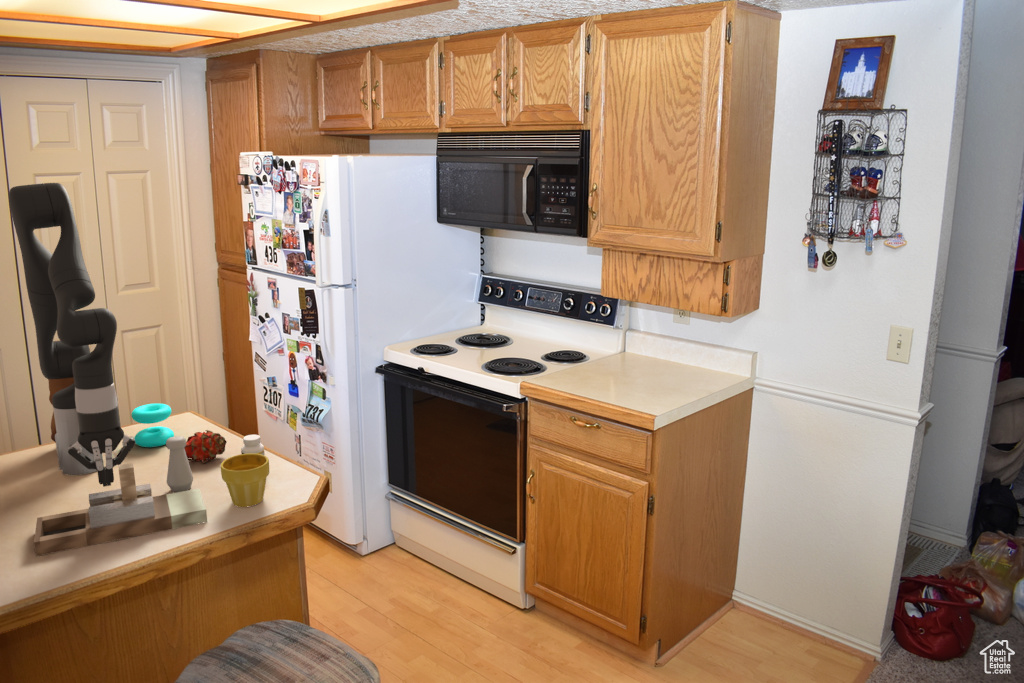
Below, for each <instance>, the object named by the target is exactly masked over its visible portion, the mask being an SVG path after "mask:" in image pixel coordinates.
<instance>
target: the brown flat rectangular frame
mask: <svg viewBox="0 0 1024 683" xmlns="http://www.w3.org/2000/svg"><path fill="white" fill-rule="evenodd" d="M153 502H154V510H155V517H154V518H149V519H144V520H138V521H133V522H128V523H123V524H118V525H112V526H107V527H102V528H97V529H91V525H90V518H89V507H88V508H84V509H79V510H78V509H77V510H73V511H68V512H67V511H66V512H61V513H56V514H51V515H45V516H40V517H37V518H36V522H35V524H36V526H35V531H34V532H35V533H34V539H33V545H34V546H33V547H34V552H35V556H36V557H38V556H39V557H40V556H43V555H49V554H54V553H58V552H64V551H69V550H74V549H80V548H84V547H88V546H93V545H94V546H95V545H100V544H103V543H108V542H115V541H119V540H125V539H130V538H135V537H138V536H144V535H149V534H155V533H159V532H160V533H161V532H165V531H170V530H174V529H179V528H184V527H190V526H194V524H195V525H198V523H200V524H204V523H203V522H205V523H208V515H207V513H208V512H207V508H206V504H205V501H204V498H203V496H202V493H201V489H200V488H194V489H189V490H188V491H182V492H177V493H173V492H172V493H167V494H161V495H157V496H156V495H155V496H153Z"/></svg>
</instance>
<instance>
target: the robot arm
mask: <svg viewBox="0 0 1024 683" xmlns="http://www.w3.org/2000/svg"><path fill="white" fill-rule="evenodd" d="M8 203H9V204H8V205H9V210H10V213H11V218H12V221H13V225H14V230H15V233H16V237H17V241H18V245H19V248H20V252H21V259H22V264H23V270H24V277H25V286H26V289H27V296H28V300H29V304H30V308H31V313H32V318H33V322H34V326H35V337H36V346H37V353H38V355H37V356H38V361H39V367H40V371H41V373H42V375H43V377H44V378H45V379H47V380H48V379H63V378H72V377H74V383H73V384H72V385H70V386H69V387H67V388H65V389H62V390H60V391H58V392H56V393H55V394H54V395H53V396H52V404H53V405H52V404H51V405H52V409H53V410H52V411H54V418H55V424H56V431H57V433H56V434H55V441H56V442H55V446H56V448H55V449H56V452H57V453H56V454H57V455H56V456H57V461H58V467H59V471H61V473H62V474H64V475H66V476H82V475H88V474H91V473H95V472H97V479H98V483H99V485H102V486H103V487H104V488H105V487H110V486H112V483H114V481H115V475H114V467H115V466H118V465H122V464H123V461H124V460H125V459H126V457H127V456H128V455H129V453H130V452H131V450H132V449H133V447H134V446H135V445H136V443H135V436H128V435H127V434H125V432H124V430H123V429H122V427H121V421H120V412H119V403H118V401H119V399H118V395H117V390H116V387H115V381H114V375H113V374H114V373H113V366H112V364H113V362H112V361H113V353H114V345H115V342H116V341H115V340H116V337H117V336H116V335H117V329H118V323H117V319H116V316H115V315H114V313H113V312H112V311H111V310H110V309H108V308H104V307H98V308H91V309H90V308H89V309H84V308H86V307H88V306H90V305H91V304H93V303H94V301H95V298H96V292H95V289H94V286H93V283H92V281H91V278H90V275H89V272H88V270H87V267H86V266H87V265H86V264H85V259H84V255H83V251H82V245H81V239H80V234H79V230H78V225H77V221H76V218H75V217H76V216H75V212H74V208H73V204H72V201H71V198H70V195H69V193H68V191H67V189H66V187H65V186H64V185H63V184H61V183H59V182H45V183H44V182H43V183H35V184H34V183H33V184H25V185H22V184H21V185H17V186H16V185H15V186H13V187H11V188H10V189H9V191H8ZM53 227H54V228H55V227H56V228H57V227H59V228H60V235H59V236H60V237H59V240H58V242H57V245H56V247H55V248H54V251H53V252H51V251H50V250H49V249H48V248H46V247H45V245H44V244H43V243H42V242H41V241H40V239H38V237H37V236H36V234H35V232H34V230H39V229H47V228H49V229H50V228H53ZM80 309H83V310H80ZM56 334H57V337H58V339H59V340H54V337H55V335H56ZM91 345H95V347H94V349H93V350H92V351H91V349H90V346H91ZM121 442H122V444H121V446H122V447H121V449H120V450H119V452H117V455H115V456H114V457H113V452H114V451H115V450H116V449H117V448H118V446H119V445H120V443H121ZM103 454H105V466H104V458H103Z"/></svg>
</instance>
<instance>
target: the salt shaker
mask: <svg viewBox="0 0 1024 683" xmlns="http://www.w3.org/2000/svg"><path fill="white" fill-rule="evenodd" d="M186 442H187V439H186V438H185V437H184V436H181V435H176V436H175V435H174V437H170V438H169V439H168V440H167V441H166V444H165V445H166V448H167V450H169V454H168V455H169V458H168V466H167V474H166V475H167V476H166V484H167V486H168V487H169V489H170V490H171V492H172V493H173V492H174V493H177V492H182V491H188V490H191V487H192V484H193V482H194V475H193V472H192V469H191V467H190V461H188V459H189V458H188V459H187V455H186V452H185V449H184V447H185V446H186Z"/></svg>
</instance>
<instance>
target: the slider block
mask: <svg viewBox="0 0 1024 683" xmlns="http://www.w3.org/2000/svg"><path fill="white" fill-rule="evenodd" d="M117 466H118V475H119V483H120V489H121V492H122V499H117V500H114V503H116V502H121V501H127V500H132V499H138V498H143V497H145V495H140V496H137V492H136V486H137V484H136V477H135V469H134V467H135V466H134V463H133V462H130V463H124V464H123V463H121V464H120V465H117Z"/></svg>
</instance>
